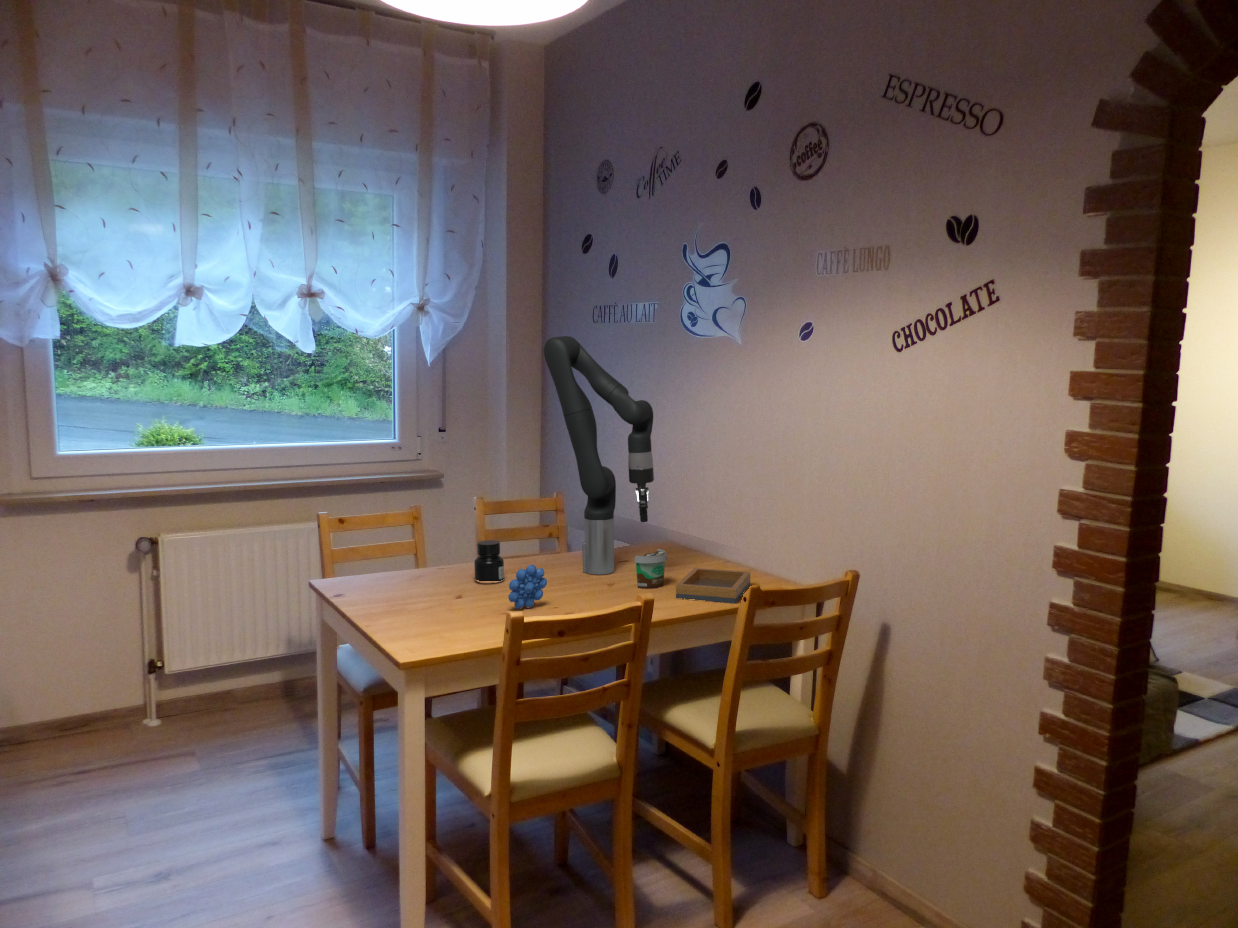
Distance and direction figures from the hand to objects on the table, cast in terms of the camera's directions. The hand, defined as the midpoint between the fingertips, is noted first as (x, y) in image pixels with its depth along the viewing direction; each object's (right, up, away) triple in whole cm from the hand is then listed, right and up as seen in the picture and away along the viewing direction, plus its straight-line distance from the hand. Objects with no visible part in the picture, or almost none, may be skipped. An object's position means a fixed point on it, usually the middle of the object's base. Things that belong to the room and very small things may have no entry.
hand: (643, 519), depth 278 cm
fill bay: (+20, -20, -15) cm, 32 cm away
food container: (+3, -20, -8) cm, 21 cm away
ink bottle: (-47, -19, 0) cm, 51 cm away
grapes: (-33, -23, -29) cm, 49 cm away
